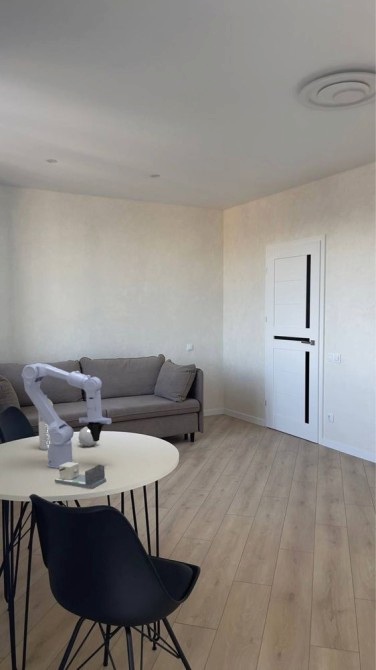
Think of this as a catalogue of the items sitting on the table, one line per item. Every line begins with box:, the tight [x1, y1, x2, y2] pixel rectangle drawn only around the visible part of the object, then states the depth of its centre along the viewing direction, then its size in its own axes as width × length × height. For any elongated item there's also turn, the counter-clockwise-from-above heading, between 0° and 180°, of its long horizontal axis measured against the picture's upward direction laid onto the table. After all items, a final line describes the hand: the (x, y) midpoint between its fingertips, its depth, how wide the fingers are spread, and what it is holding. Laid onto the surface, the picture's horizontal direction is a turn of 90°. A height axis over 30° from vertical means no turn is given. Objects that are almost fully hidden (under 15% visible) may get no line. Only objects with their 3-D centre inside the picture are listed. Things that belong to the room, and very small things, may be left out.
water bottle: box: [37, 394, 54, 451], centre depth 224 cm, size 7×7×25 cm
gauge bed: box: [54, 473, 107, 490], centre depth 176 cm, size 17×8×2 cm, turn 64°
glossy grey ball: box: [77, 426, 98, 448], centre depth 228 cm, size 9×10×15 cm
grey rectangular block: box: [84, 464, 106, 485], centre depth 173 cm, size 2×8×5 cm, turn 154°
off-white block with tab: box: [58, 461, 80, 480], centre depth 177 cm, size 6×8×5 cm
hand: (96, 440), depth 194 cm, fingers closed
